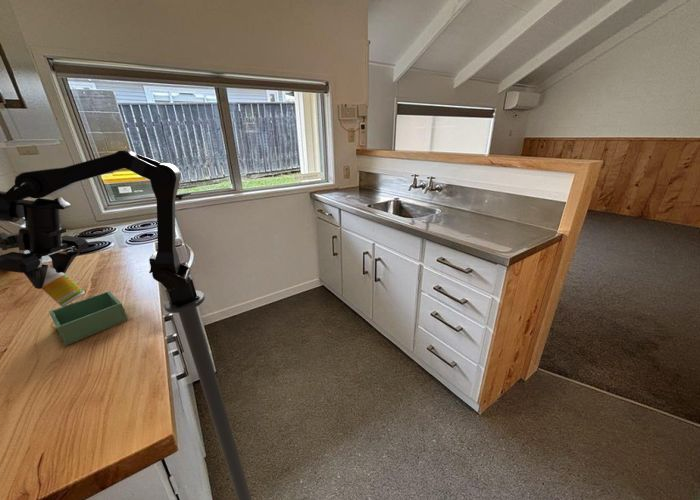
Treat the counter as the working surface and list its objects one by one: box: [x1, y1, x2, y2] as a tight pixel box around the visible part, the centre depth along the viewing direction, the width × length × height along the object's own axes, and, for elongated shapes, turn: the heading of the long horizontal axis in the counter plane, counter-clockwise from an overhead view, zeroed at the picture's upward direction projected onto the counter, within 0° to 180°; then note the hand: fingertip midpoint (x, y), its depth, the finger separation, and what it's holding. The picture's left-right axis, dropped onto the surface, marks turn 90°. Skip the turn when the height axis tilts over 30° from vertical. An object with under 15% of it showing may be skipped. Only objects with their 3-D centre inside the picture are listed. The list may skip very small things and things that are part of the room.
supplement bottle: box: [40, 266, 86, 307], centre depth 72 cm, size 5×5×10 cm
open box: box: [48, 290, 129, 346], centre depth 73 cm, size 12×11×5 cm
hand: (49, 283), depth 71 cm, fingers closed on supplement bottle, 5 cm apart
